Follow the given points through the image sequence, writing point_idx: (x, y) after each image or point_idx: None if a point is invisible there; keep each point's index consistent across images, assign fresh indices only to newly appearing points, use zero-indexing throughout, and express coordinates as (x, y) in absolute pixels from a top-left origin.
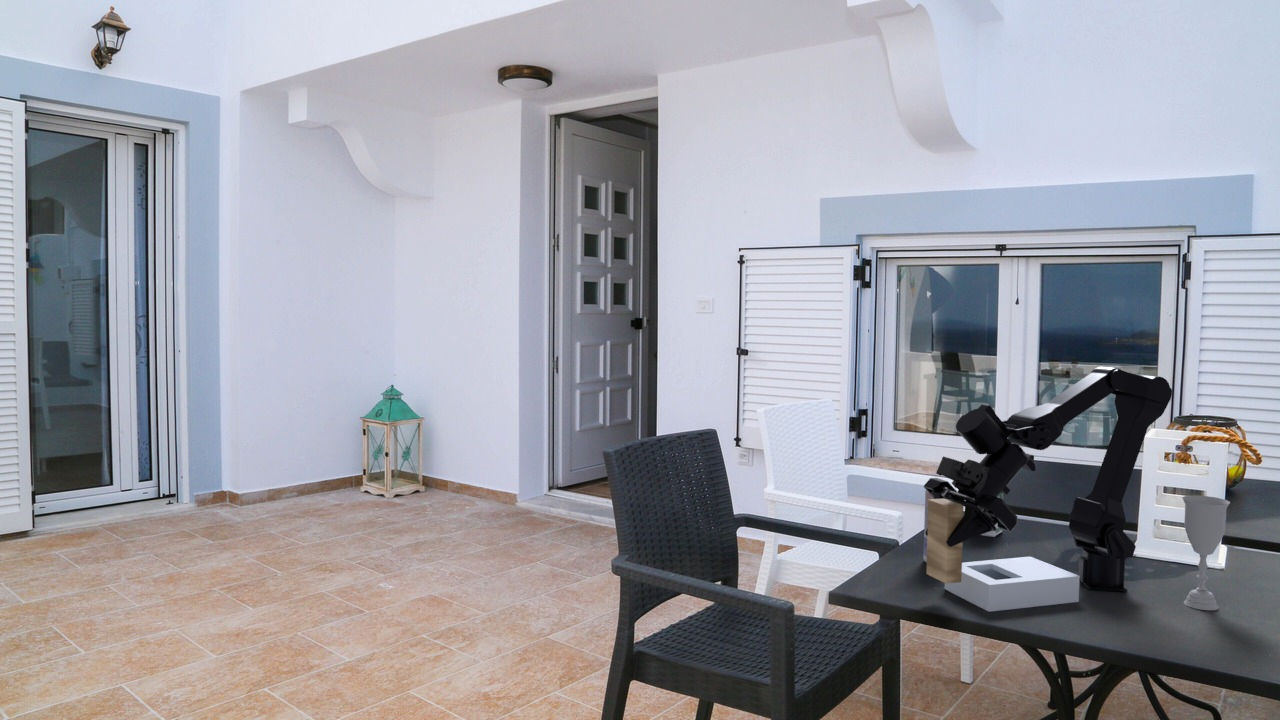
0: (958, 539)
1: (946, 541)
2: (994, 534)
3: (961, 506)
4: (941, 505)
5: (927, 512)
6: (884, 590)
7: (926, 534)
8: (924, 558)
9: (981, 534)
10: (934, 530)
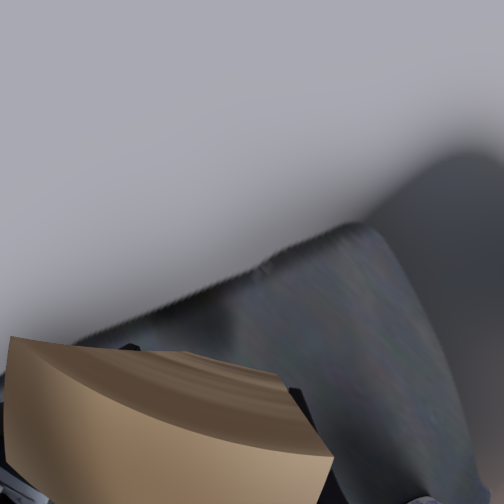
0: None
1: (135, 346)
2: None
3: (8, 446)
4: (81, 379)
5: None
6: (355, 321)
7: (291, 388)
8: (429, 497)
9: None
10: (227, 384)
